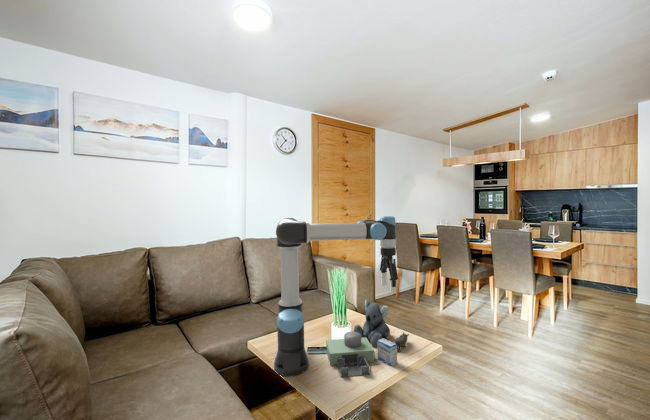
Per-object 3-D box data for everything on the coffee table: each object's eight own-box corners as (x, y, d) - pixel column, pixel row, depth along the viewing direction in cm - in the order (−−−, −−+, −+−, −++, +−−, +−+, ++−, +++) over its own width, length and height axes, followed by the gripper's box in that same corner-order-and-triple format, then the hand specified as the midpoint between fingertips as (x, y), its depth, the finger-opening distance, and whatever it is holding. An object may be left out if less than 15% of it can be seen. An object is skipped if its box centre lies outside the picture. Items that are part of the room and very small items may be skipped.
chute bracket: (340, 377, 121) (340, 369, 121) (336, 365, 130) (336, 357, 130) (369, 374, 123) (369, 366, 123) (364, 363, 132) (363, 355, 131)
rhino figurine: (411, 342, 151) (411, 330, 151) (401, 353, 140) (401, 340, 140) (404, 340, 154) (403, 328, 153) (392, 350, 143) (392, 338, 142)
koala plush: (351, 337, 157) (350, 301, 156) (372, 327, 169) (371, 294, 168) (377, 349, 144) (377, 309, 144) (398, 337, 156) (398, 301, 156)
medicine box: (377, 359, 135) (376, 340, 135) (383, 355, 138) (383, 337, 138) (391, 366, 129) (391, 346, 129) (397, 362, 132) (397, 343, 132)
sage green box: (330, 365, 131) (329, 345, 130) (326, 350, 144) (326, 332, 144) (374, 361, 133) (373, 341, 133) (366, 347, 146) (366, 329, 146)
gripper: (404, 250, 136) (405, 296, 137) (387, 243, 161) (387, 282, 161) (389, 251, 135) (389, 297, 136) (373, 243, 160) (374, 282, 161)
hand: (388, 289), depth 149 cm, fingers open, 13 cm apart
